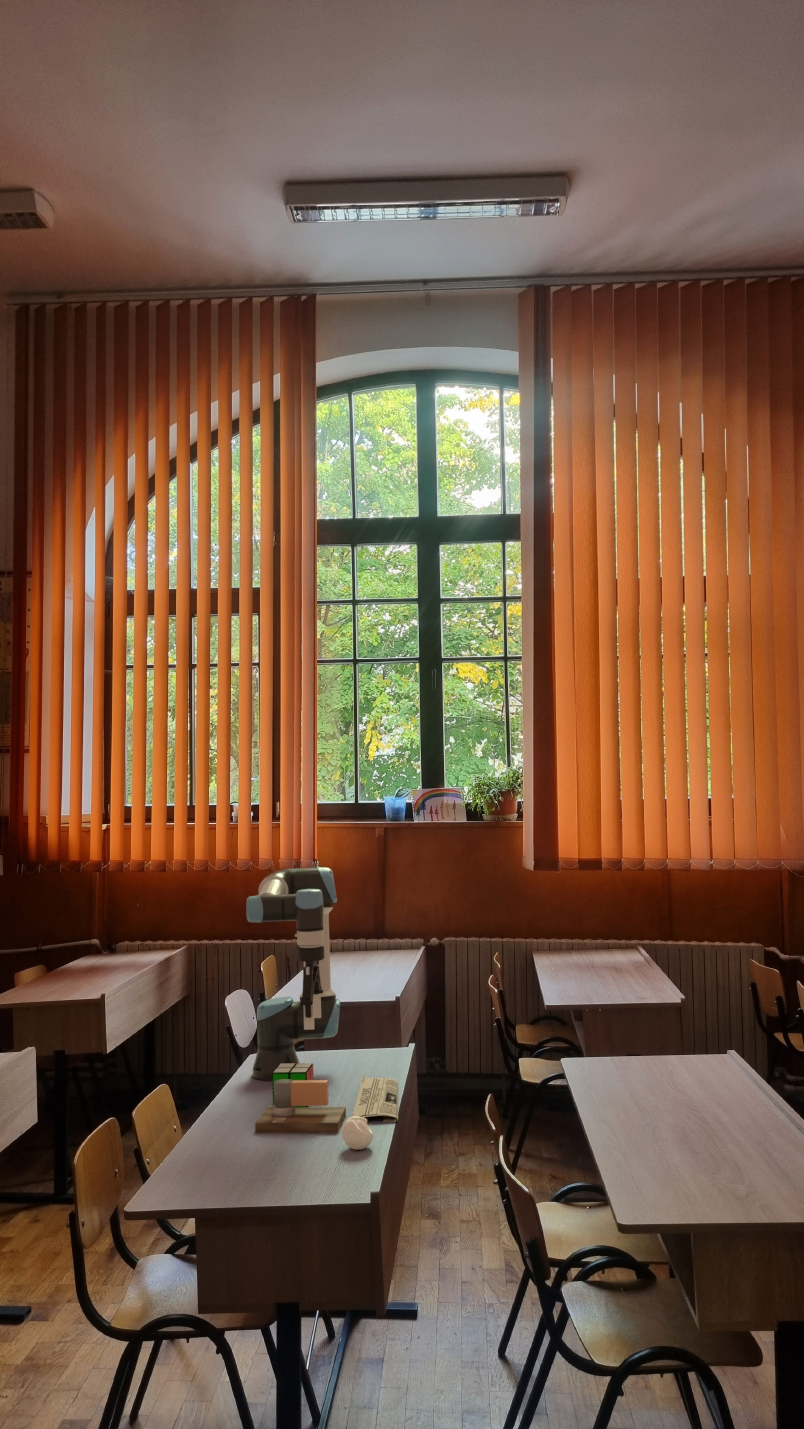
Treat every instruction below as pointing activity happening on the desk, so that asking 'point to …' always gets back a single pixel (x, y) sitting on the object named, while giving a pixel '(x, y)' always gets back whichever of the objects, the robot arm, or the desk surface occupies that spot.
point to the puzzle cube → (293, 1073)
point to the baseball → (357, 1133)
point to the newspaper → (377, 1099)
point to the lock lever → (300, 1093)
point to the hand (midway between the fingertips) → (312, 1023)
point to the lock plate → (300, 1119)
